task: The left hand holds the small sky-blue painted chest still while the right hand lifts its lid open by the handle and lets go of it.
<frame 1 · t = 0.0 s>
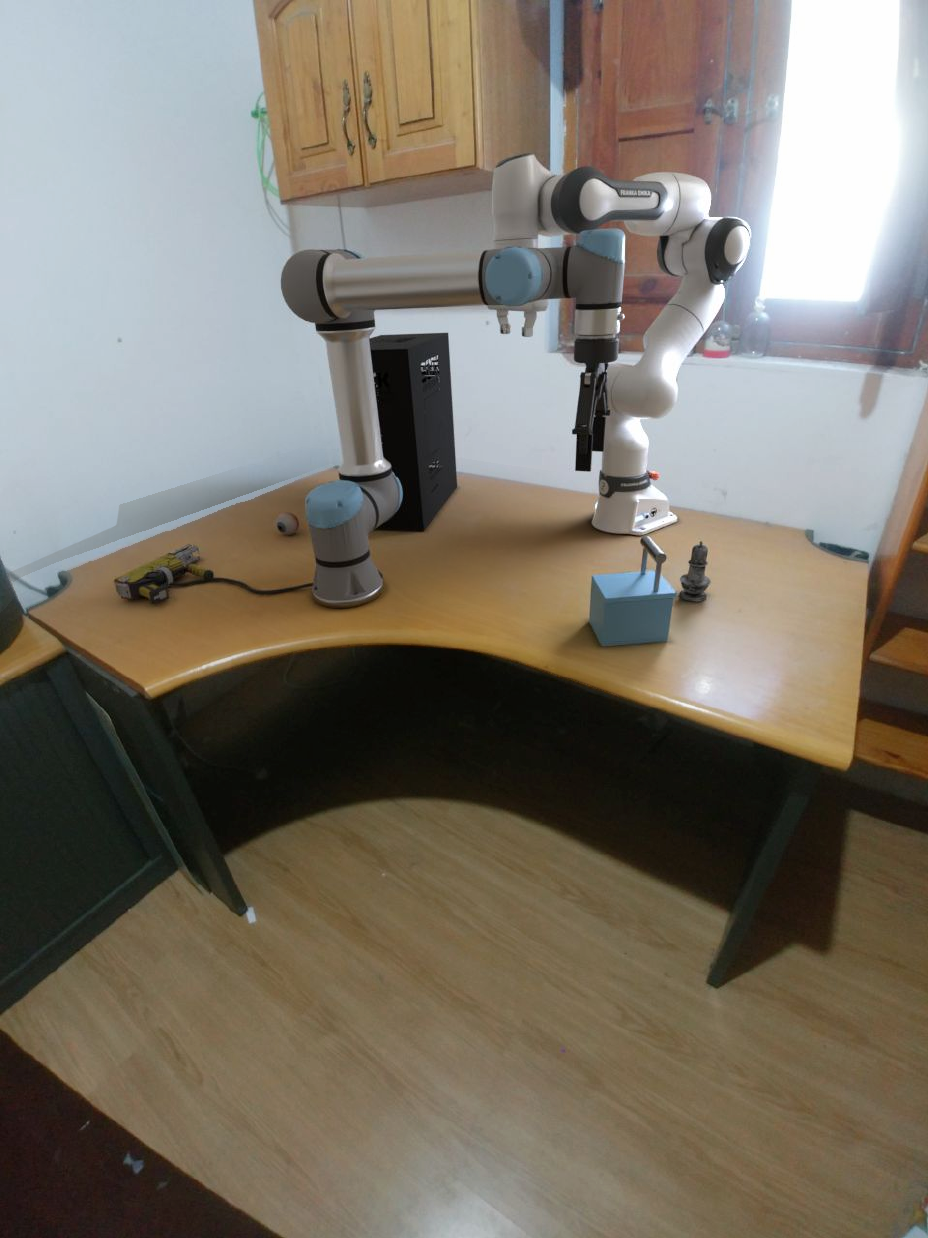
left hand: (590, 460, 113), 28 cm above the table, tool pointing down, fingers open, 13 cm apart
right hand: (516, 335, 125), 48 cm above the table, tool pointing down, fingers open, 8 cm apart
chest: (626, 631, 113), on the table
dark boxy piece: (409, 506, 180), on the table
lid: (634, 567, 107), point 13 cm above the table, hinge at 0.0°
toy gun: (180, 582, 142), on the table
eyeball: (289, 534, 165), on the table
dark grey turned figure: (692, 596, 123), on the table
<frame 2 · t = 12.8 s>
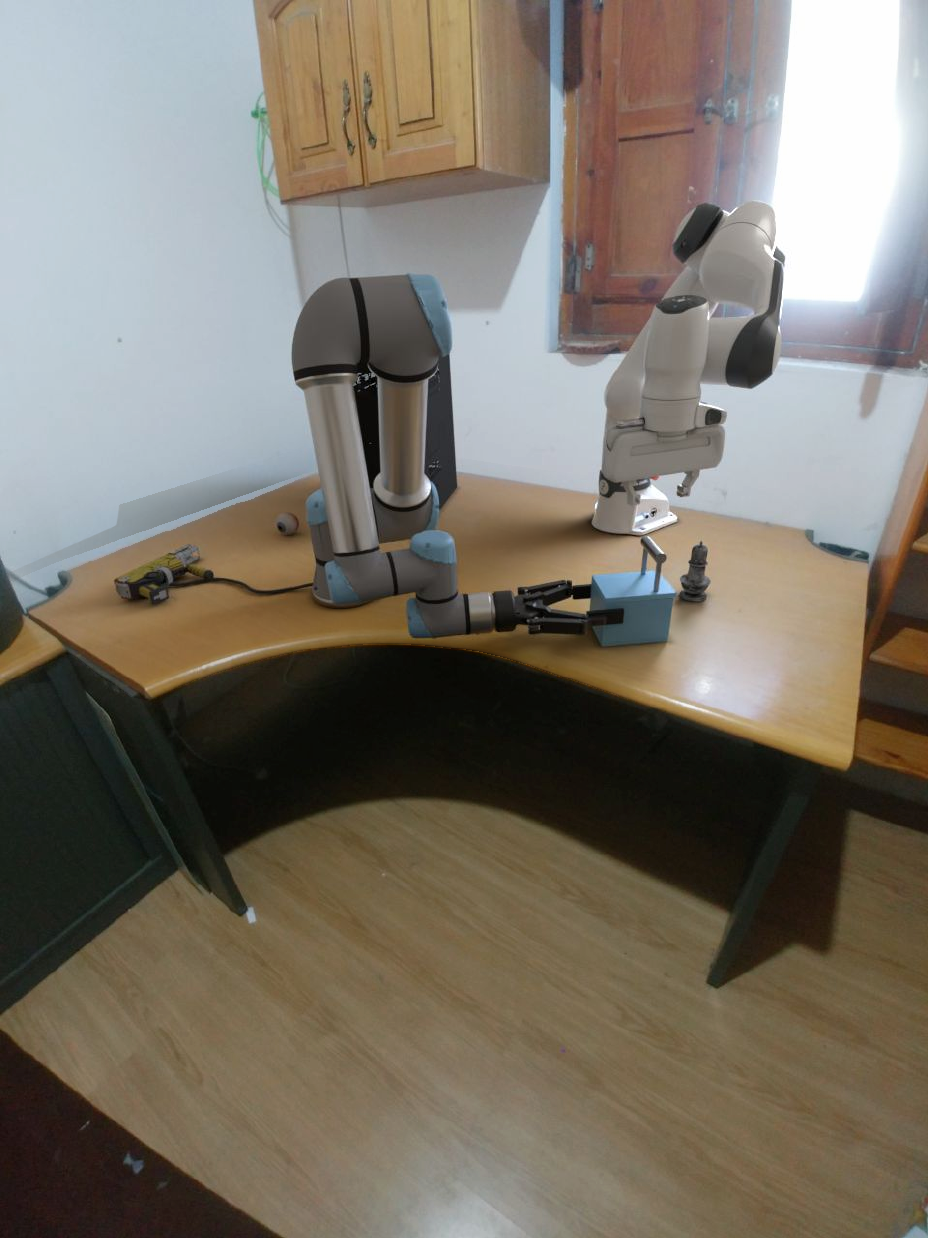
left hand: (614, 602, 110), 6 cm above the table, tool horizontal, fingers closed on chest, 9 cm apart
right hand: (658, 500, 101), 25 cm above the table, tool pointing down, fingers open, 8 cm apart
chest: (626, 630, 113), on the table, touching left hand
everything else where it was.
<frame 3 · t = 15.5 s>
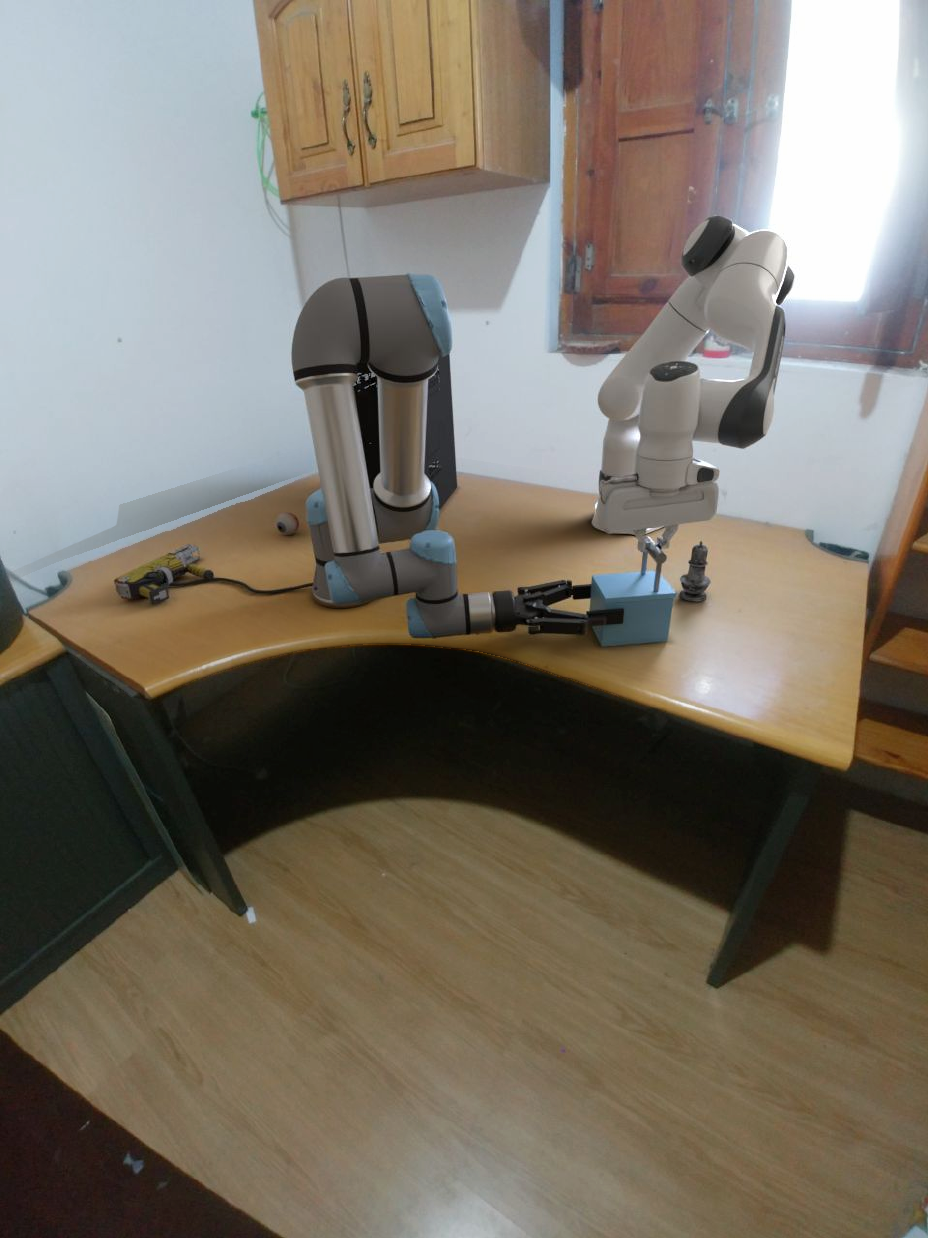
left hand: (614, 602, 110), 6 cm above the table, tool horizontal, fingers closed on chest, 9 cm apart
right hand: (653, 549, 105), 16 cm above the table, tool pointing down, fingers closed on lid, 2 cm apart
chest: (626, 631, 113), on the table, touching left hand
lid: (634, 567, 107), point 13 cm above the table, hinge at -0.1°, touching right hand
everything else where it was.
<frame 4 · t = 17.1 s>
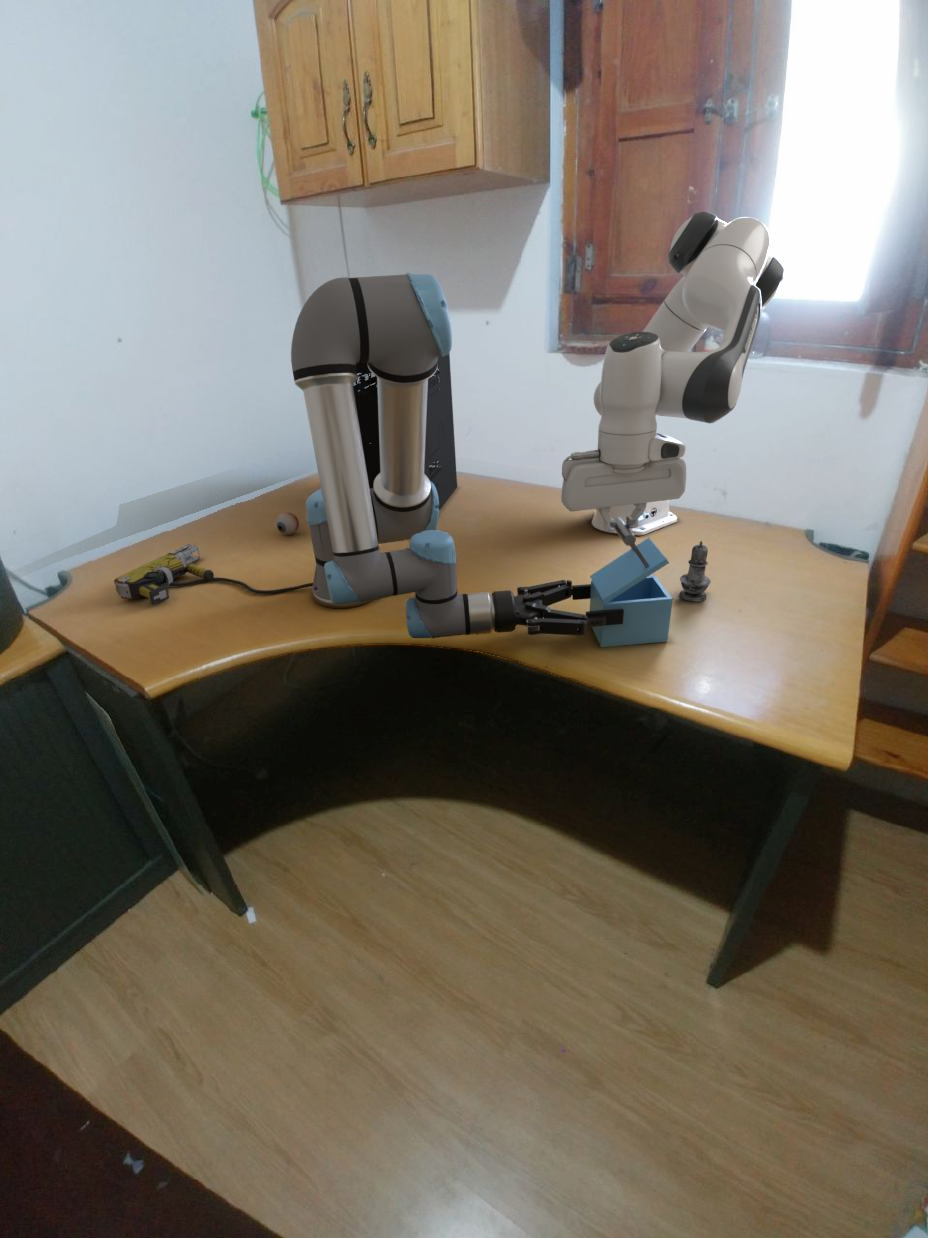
left hand: (614, 602, 110), 6 cm above the table, tool horizontal, fingers closed on chest, 9 cm apart
right hand: (620, 528, 103), 21 cm above the table, tool pointing down, fingers open, 3 cm apart
chest: (626, 631, 113), on the table, touching left hand
lid: (617, 554, 105), point 16 cm above the table, hinge at 33.2°, touching right hand
everything else where it was.
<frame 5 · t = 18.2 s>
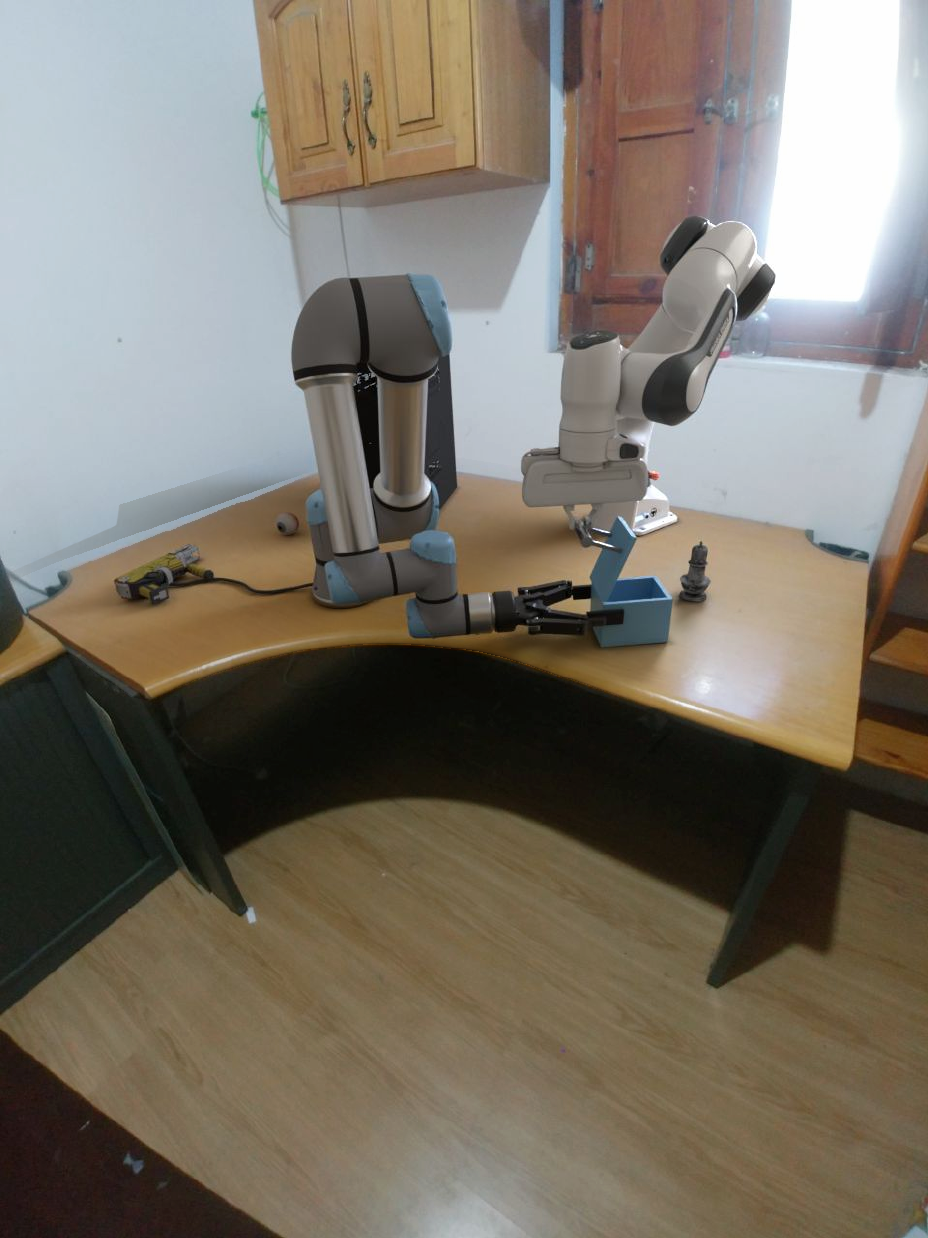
left hand: (614, 602, 110), 6 cm above the table, tool horizontal, fingers closed on chest, 9 cm apart
right hand: (581, 528, 102), 21 cm above the table, tool pointing down, fingers closed, pressing on lid
chest: (627, 631, 113), on the table, touching left hand
lid: (592, 553, 104), point 17 cm above the table, hinge at 68.9°, touching right hand
everything else where it was.
when the left hand's fingers open (6 cm above the table, at t = 22.4 s): chest stays where it is, on the table.
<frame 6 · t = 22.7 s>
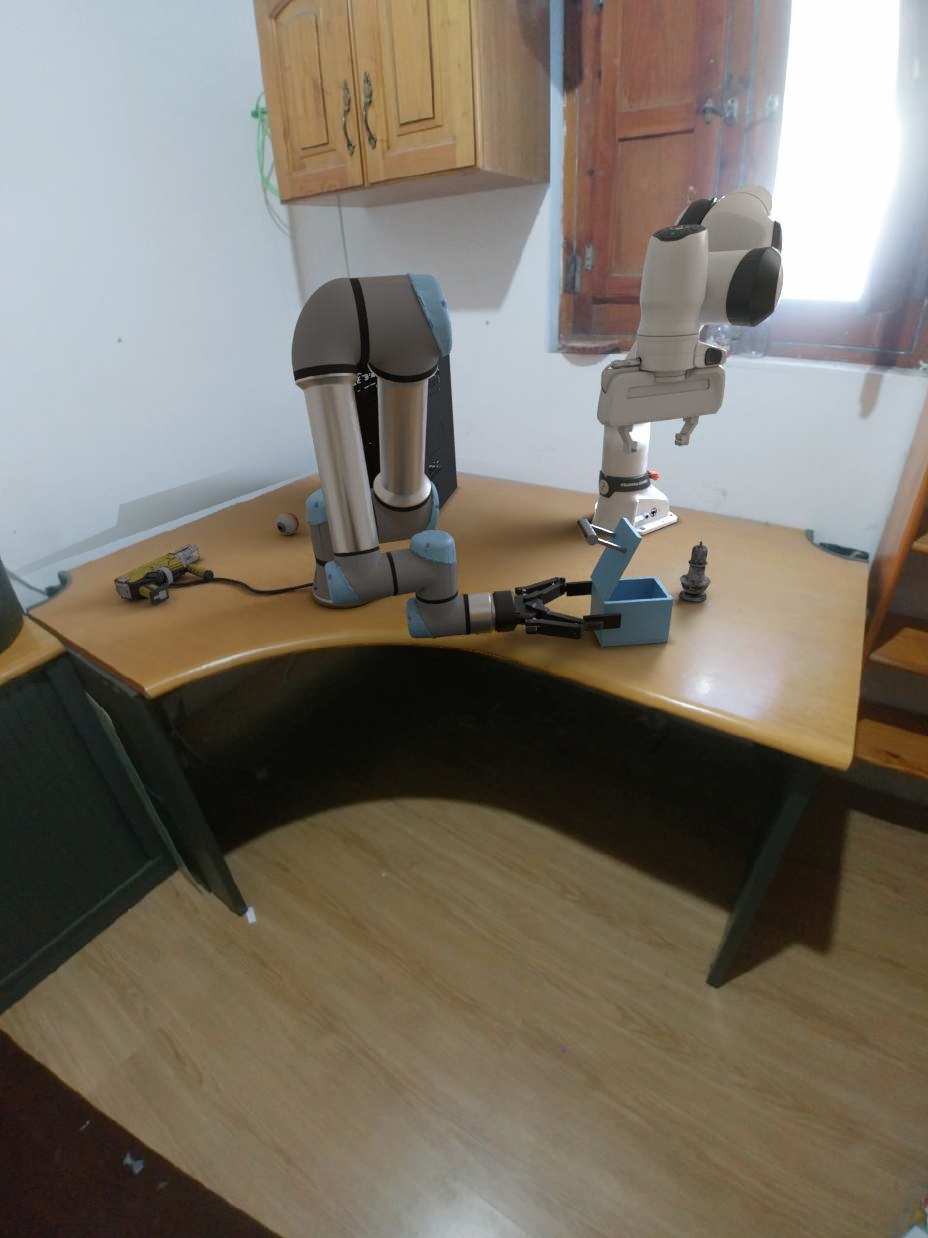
left hand: (610, 602, 110), 6 cm above the table, tool horizontal, fingers open, 12 cm apart
right hand: (655, 448, 96), 34 cm above the table, tool pointing down, fingers open, 8 cm apart
chest: (627, 631, 113), on the table
lid: (595, 552, 105), point 17 cm above the table, hinge at 66.2°
everything else where it was.
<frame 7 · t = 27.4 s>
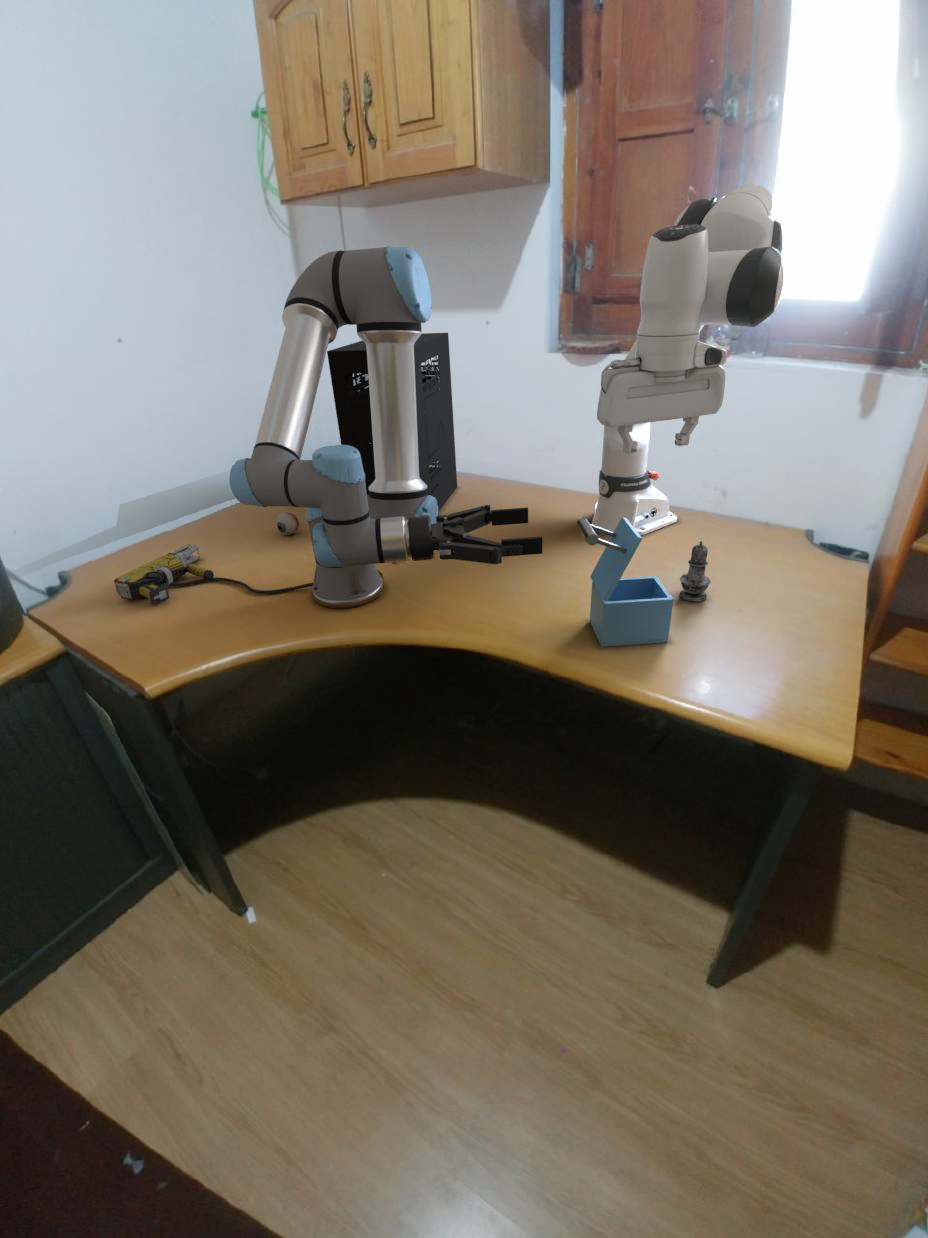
left hand: (534, 529, 102), 22 cm above the table, tool horizontal, fingers open, 13 cm apart
right hand: (655, 448, 96), 34 cm above the table, tool pointing down, fingers open, 8 cm apart
nothing on the table moved.
at the end: lid at +66° (first picture: +0°); the left hand is holding nothing; the right hand is holding nothing; chest tilted 0°; chest never tilted more than 2° during the clip; chest moved 0.2 cm from its start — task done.
